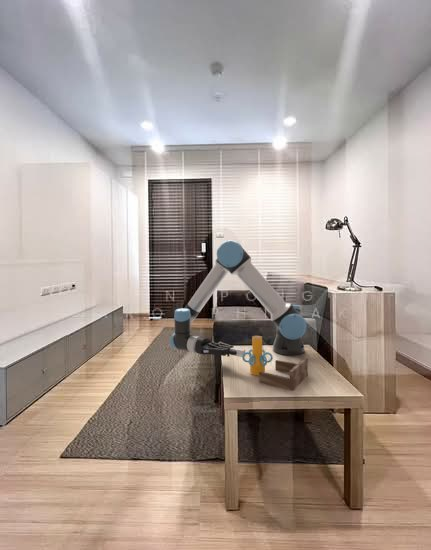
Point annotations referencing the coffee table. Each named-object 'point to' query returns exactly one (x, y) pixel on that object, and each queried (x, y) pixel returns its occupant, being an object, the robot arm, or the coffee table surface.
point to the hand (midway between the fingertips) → (244, 353)
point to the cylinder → (257, 356)
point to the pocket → (295, 377)
